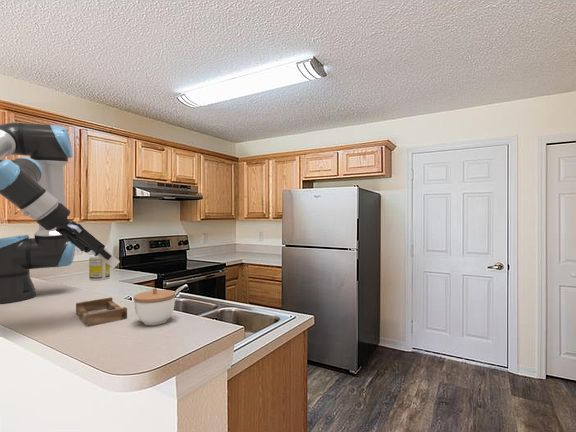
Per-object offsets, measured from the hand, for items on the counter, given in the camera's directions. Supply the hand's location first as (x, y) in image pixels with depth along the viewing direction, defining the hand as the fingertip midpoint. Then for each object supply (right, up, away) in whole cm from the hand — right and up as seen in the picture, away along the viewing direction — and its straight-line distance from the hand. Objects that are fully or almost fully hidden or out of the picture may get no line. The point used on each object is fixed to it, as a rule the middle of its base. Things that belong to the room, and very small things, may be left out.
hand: (111, 264), depth 103 cm
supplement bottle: (-2, -4, -3) cm, 6 cm away
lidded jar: (+17, -15, -9) cm, 25 cm away
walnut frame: (-2, -15, -2) cm, 15 cm away
